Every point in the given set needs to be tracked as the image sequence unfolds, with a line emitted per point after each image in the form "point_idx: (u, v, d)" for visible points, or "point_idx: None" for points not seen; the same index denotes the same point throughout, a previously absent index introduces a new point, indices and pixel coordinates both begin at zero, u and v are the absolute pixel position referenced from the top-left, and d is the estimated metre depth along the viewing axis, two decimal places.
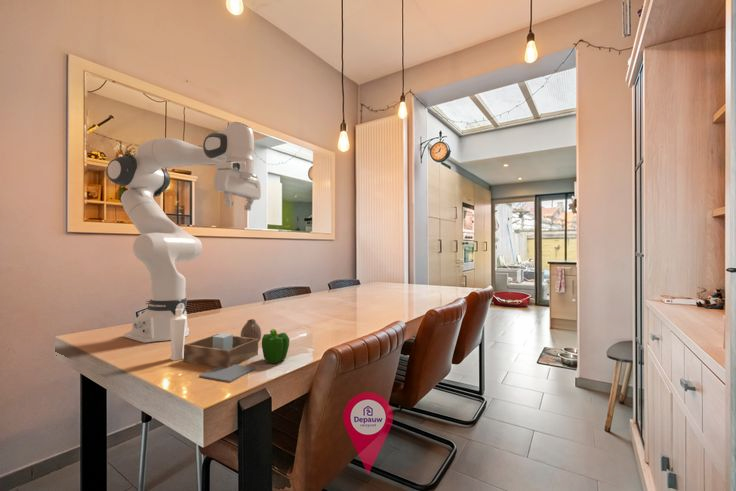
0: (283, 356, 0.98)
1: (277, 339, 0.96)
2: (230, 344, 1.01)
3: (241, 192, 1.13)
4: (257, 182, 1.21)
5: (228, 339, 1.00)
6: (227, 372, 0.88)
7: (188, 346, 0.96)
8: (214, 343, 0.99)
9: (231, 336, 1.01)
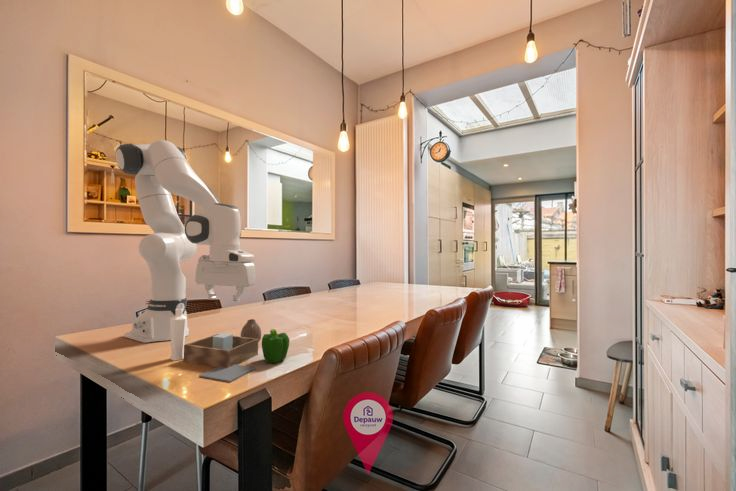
0: (283, 356, 0.98)
1: (277, 339, 0.96)
2: (230, 344, 1.01)
3: None
4: None
5: (228, 339, 1.00)
6: (227, 372, 0.88)
7: (188, 346, 0.96)
8: (214, 343, 0.99)
9: (231, 336, 1.01)
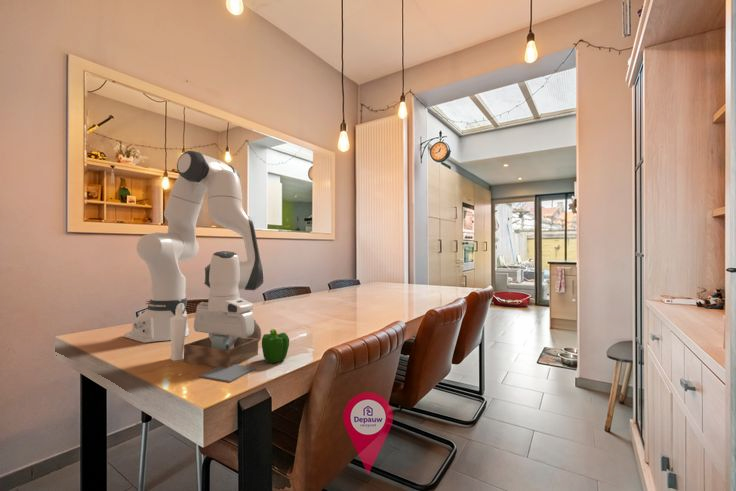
0: (283, 356, 0.98)
1: (277, 339, 0.96)
2: None
3: None
4: None
5: (228, 339, 1.00)
6: (227, 372, 0.88)
7: (188, 346, 0.96)
8: (214, 343, 0.99)
9: None
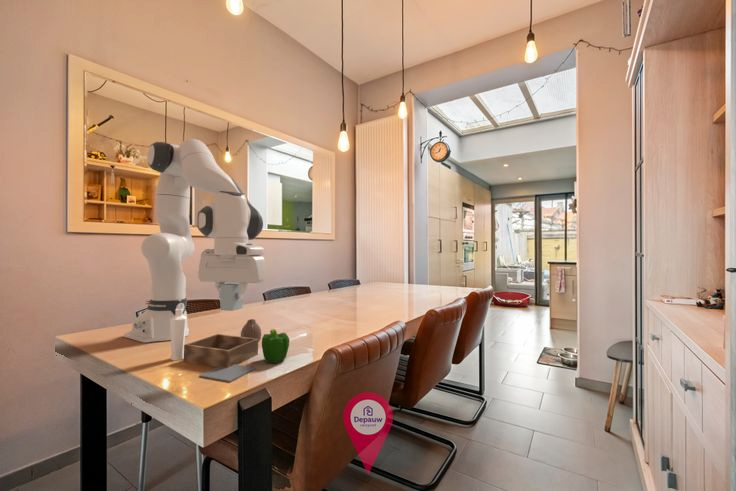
0: (283, 356, 0.98)
1: (277, 339, 0.96)
2: None
3: None
4: None
5: (237, 287, 0.90)
6: (227, 372, 0.88)
7: (188, 346, 0.96)
8: (222, 292, 0.89)
9: None
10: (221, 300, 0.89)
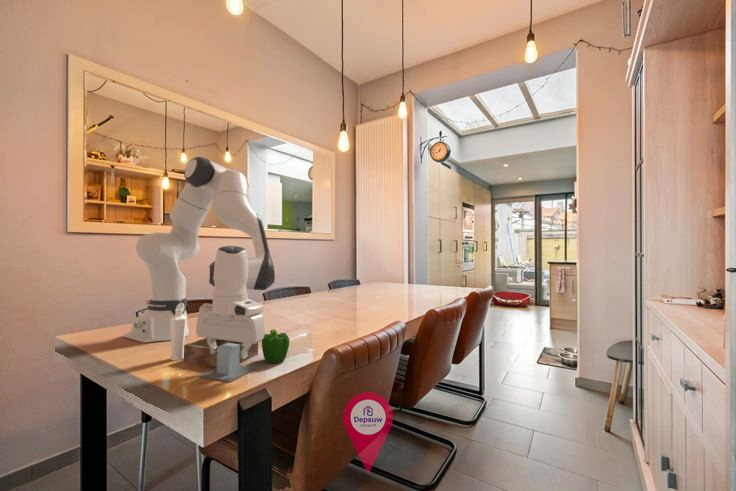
0: (283, 356, 0.98)
1: (277, 339, 0.96)
2: (237, 355, 0.89)
3: None
4: None
5: (235, 350, 0.89)
6: None
7: (188, 346, 0.96)
8: (219, 354, 0.87)
9: (238, 346, 0.90)
10: (217, 363, 0.88)
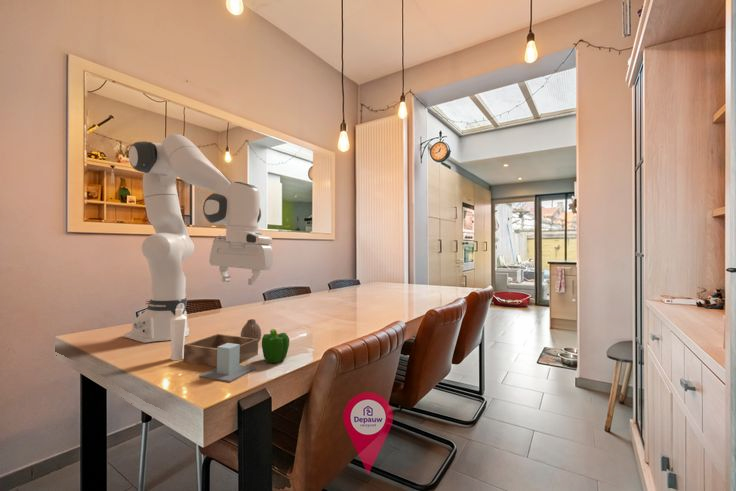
0: (283, 356, 0.98)
1: (277, 339, 0.96)
2: (237, 355, 0.89)
3: None
4: None
5: (235, 350, 0.89)
6: None
7: (188, 346, 0.96)
8: (219, 354, 0.87)
9: (238, 346, 0.90)
10: (217, 363, 0.88)
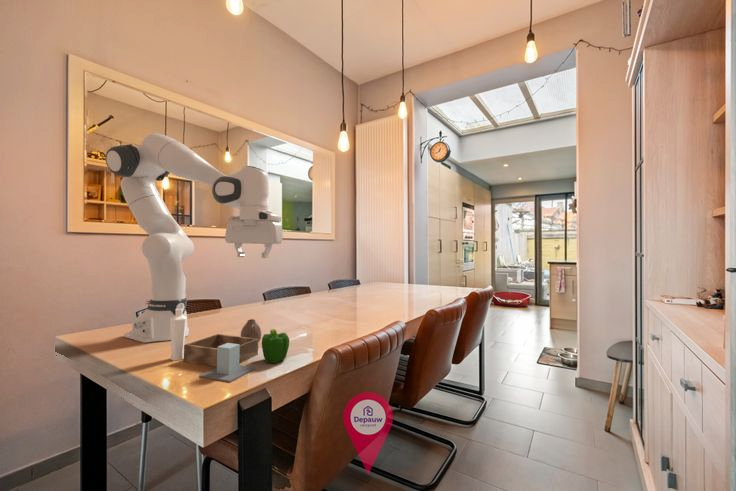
0: (283, 356, 0.98)
1: (277, 339, 0.96)
2: (237, 355, 0.89)
3: None
4: None
5: (235, 350, 0.89)
6: None
7: (188, 346, 0.96)
8: (219, 354, 0.87)
9: (238, 346, 0.90)
10: (217, 363, 0.88)
